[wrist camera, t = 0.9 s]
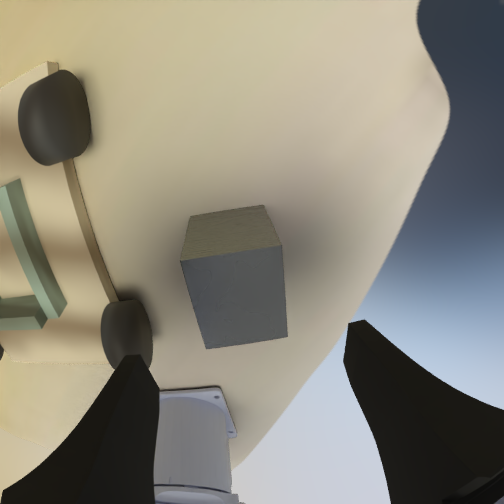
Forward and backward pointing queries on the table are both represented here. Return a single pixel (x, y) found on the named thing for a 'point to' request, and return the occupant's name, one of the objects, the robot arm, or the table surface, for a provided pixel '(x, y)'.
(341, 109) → the table surface
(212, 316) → the block
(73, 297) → the chassis
